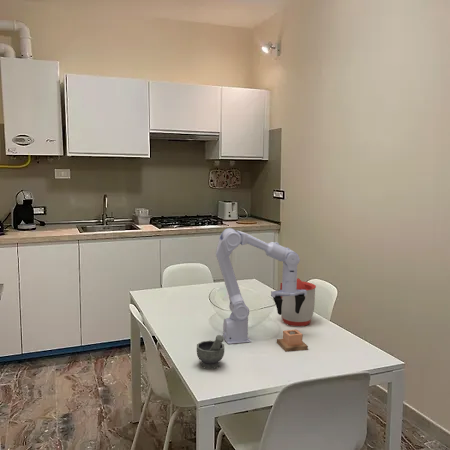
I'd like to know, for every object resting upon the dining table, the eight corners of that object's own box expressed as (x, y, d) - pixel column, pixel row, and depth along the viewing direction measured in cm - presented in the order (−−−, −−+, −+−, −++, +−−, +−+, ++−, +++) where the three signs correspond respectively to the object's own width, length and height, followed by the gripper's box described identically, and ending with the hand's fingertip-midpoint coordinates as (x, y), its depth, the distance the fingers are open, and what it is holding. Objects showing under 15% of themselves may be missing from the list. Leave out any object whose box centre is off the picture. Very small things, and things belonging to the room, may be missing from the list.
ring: (288, 346, 172) (288, 335, 171) (282, 340, 177) (282, 330, 176) (302, 344, 173) (302, 334, 173) (295, 339, 178) (296, 329, 178)
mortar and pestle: (190, 363, 158) (191, 330, 157) (212, 357, 164) (212, 324, 163) (210, 375, 150) (210, 340, 148) (232, 368, 155) (233, 334, 154)
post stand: (285, 351, 170) (285, 337, 169) (276, 342, 178) (276, 329, 178) (307, 349, 172) (308, 335, 172) (297, 340, 181) (298, 327, 180)
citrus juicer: (273, 316, 210) (274, 273, 208) (311, 317, 210) (313, 274, 207) (276, 328, 195) (277, 282, 192) (317, 329, 194) (319, 283, 192)
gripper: (276, 283, 176) (275, 317, 177) (310, 281, 180) (309, 315, 181) (269, 279, 183) (268, 312, 184) (303, 277, 186) (301, 309, 188)
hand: (288, 313), depth 183 cm, fingers open, 7 cm apart
